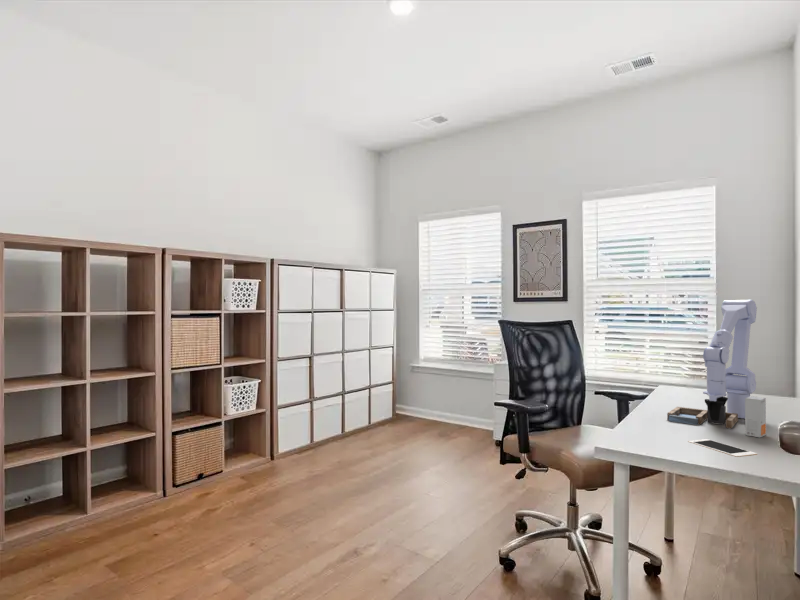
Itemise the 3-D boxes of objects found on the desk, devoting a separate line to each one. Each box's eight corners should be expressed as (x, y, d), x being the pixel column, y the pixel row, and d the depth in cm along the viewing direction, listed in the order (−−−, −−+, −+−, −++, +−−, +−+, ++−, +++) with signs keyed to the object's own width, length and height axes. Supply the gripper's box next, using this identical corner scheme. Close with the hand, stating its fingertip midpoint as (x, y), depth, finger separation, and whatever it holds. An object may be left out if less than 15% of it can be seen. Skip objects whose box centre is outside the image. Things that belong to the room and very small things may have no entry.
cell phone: (736, 458, 134) (736, 456, 134) (687, 443, 150) (687, 440, 150) (758, 455, 136) (758, 453, 136) (707, 440, 152) (707, 438, 152)
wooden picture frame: (677, 413, 190) (677, 406, 190) (737, 420, 177) (737, 413, 177) (666, 420, 177) (666, 413, 177) (730, 429, 164) (730, 421, 164)
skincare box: (761, 438, 153) (760, 399, 154) (745, 435, 157) (744, 398, 157) (766, 434, 157) (766, 397, 157) (750, 432, 161) (750, 395, 161)
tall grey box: (709, 420, 177) (709, 404, 177) (725, 422, 174) (725, 406, 174) (707, 422, 175) (707, 405, 175) (724, 424, 171) (724, 407, 171)
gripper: (707, 377, 183) (707, 413, 182) (699, 381, 172) (699, 420, 171) (729, 379, 178) (730, 416, 178) (722, 383, 167) (723, 423, 167)
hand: (716, 418), depth 174 cm, fingers open, 6 cm apart
